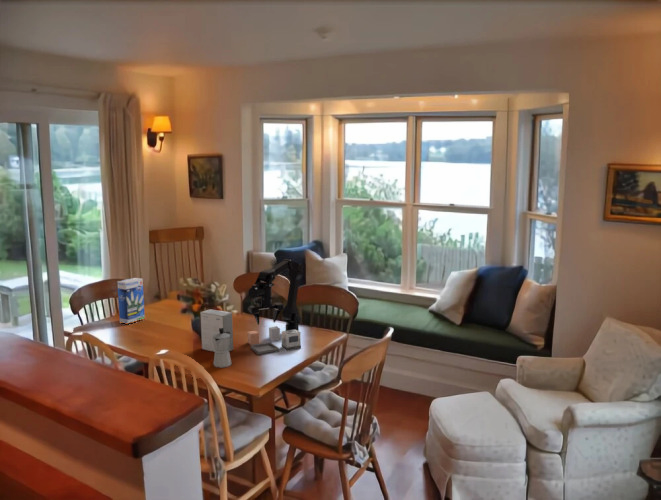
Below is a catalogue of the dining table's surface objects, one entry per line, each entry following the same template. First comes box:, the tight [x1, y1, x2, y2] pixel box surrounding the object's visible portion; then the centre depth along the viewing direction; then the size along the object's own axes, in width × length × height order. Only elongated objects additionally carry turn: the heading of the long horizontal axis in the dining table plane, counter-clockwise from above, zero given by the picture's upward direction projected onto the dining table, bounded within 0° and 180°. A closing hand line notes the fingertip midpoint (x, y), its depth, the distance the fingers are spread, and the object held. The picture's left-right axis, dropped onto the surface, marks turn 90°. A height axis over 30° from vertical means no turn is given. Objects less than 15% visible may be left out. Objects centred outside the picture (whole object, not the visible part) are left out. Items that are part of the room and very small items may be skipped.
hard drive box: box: [199, 308, 234, 353], centre depth 290 cm, size 16×8×20 cm, turn 59°
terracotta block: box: [247, 330, 260, 346], centre depth 302 cm, size 4×4×6 cm
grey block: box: [268, 325, 281, 341], centre depth 309 cm, size 4×4×6 cm
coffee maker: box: [213, 328, 232, 369], centre depth 271 cm, size 15×9×18 cm, turn 164°
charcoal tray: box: [250, 341, 280, 356], centre depth 291 cm, size 11×11×2 cm
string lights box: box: [116, 277, 146, 323], centre depth 338 cm, size 13×8×26 cm, turn 149°
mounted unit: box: [281, 329, 302, 352], centre depth 294 cm, size 8×7×8 cm
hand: (266, 323), depth 301 cm, fingers open, 9 cm apart
